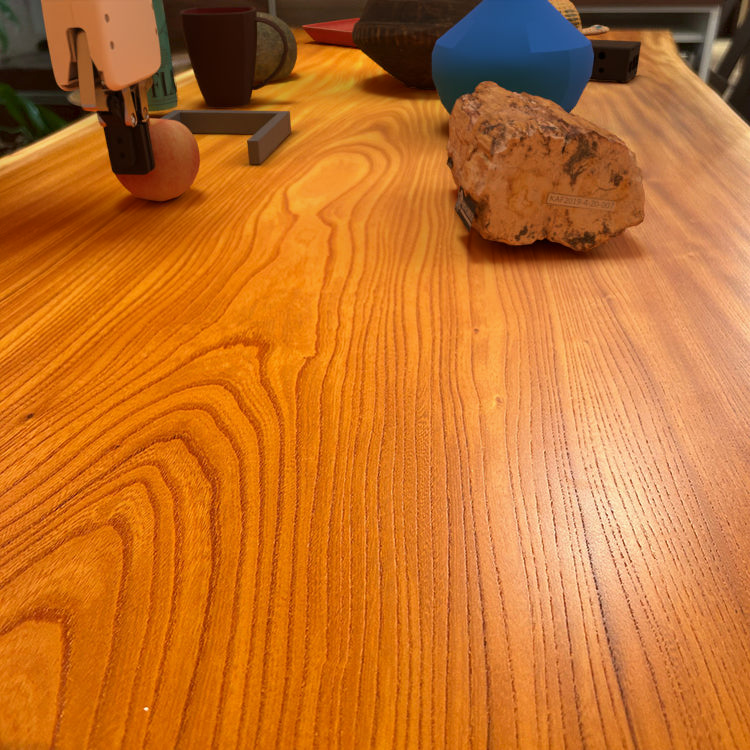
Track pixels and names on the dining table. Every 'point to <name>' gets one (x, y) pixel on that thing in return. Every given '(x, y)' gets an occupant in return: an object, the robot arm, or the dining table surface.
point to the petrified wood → (539, 172)
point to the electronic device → (615, 60)
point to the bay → (240, 127)
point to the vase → (513, 53)
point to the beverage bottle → (162, 68)
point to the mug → (225, 52)
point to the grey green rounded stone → (273, 49)
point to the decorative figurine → (576, 18)
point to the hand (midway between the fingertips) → (134, 171)
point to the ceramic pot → (407, 35)
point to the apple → (166, 162)
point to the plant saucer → (332, 32)
